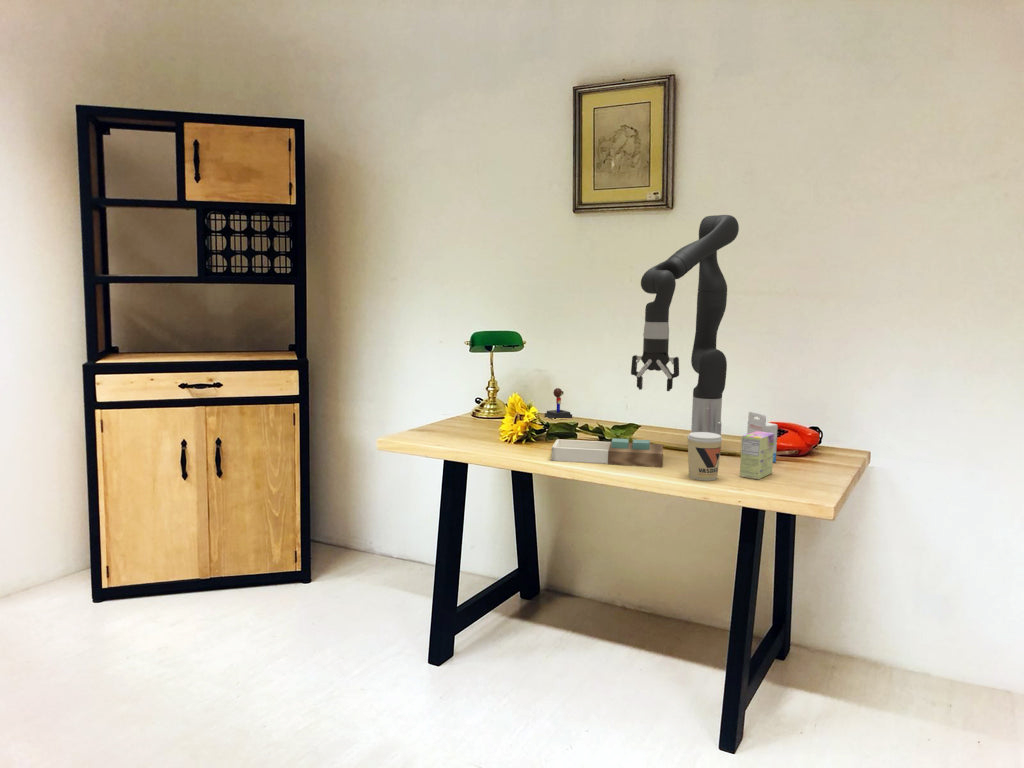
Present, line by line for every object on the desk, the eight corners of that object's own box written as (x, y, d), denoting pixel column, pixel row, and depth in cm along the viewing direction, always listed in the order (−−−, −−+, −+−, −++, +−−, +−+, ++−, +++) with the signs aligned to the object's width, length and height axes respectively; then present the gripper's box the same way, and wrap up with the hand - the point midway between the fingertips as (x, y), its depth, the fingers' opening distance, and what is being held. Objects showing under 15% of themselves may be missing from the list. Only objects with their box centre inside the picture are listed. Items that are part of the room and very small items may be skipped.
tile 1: (628, 445, 234) (628, 439, 234) (628, 448, 230) (628, 442, 229) (612, 444, 235) (612, 438, 235) (611, 447, 231) (611, 441, 230)
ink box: (776, 462, 232) (779, 414, 230) (763, 463, 230) (766, 415, 228) (758, 456, 240) (760, 410, 238) (745, 457, 238) (747, 411, 236)
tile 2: (649, 446, 233) (649, 440, 233) (649, 449, 228) (649, 443, 228) (632, 445, 234) (633, 439, 234) (632, 449, 229) (632, 442, 229)
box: (753, 470, 222) (755, 430, 221) (772, 473, 219) (774, 433, 217) (738, 476, 214) (741, 435, 213) (758, 480, 211) (760, 438, 209)
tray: (610, 454, 240) (610, 441, 239) (607, 463, 227) (608, 450, 227) (556, 451, 243) (556, 439, 242) (551, 460, 230) (551, 447, 230)
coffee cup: (696, 482, 207) (698, 438, 206) (679, 473, 216) (681, 432, 215) (726, 480, 210) (728, 437, 208) (709, 472, 219) (711, 431, 217)
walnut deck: (661, 456, 238) (662, 444, 237) (662, 467, 224) (663, 453, 223) (610, 454, 240) (610, 441, 240) (607, 464, 227) (608, 450, 226)
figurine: (572, 418, 304) (573, 388, 302) (554, 420, 300) (555, 389, 298) (562, 415, 310) (562, 386, 309) (544, 417, 306) (545, 387, 305)
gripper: (682, 337, 231) (679, 390, 233) (635, 335, 236) (633, 387, 238) (677, 338, 224) (675, 393, 226) (630, 336, 229) (628, 390, 231)
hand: (654, 390), depth 232 cm, fingers open, 8 cm apart
